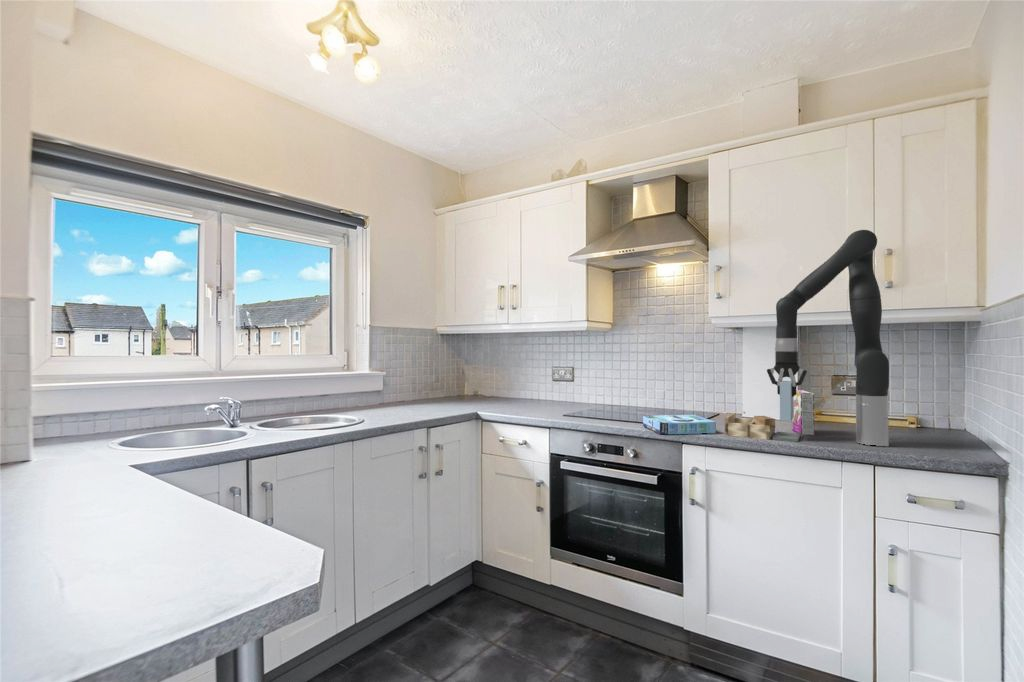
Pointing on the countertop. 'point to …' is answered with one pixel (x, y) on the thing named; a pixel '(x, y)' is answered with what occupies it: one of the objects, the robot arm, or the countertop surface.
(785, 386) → the tall pale blue pillar
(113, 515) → the countertop surface
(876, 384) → the robot arm
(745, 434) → the rack
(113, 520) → the countertop surface
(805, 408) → the candy bar box
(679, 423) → the gum box
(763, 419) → the offcut upper
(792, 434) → the mat
